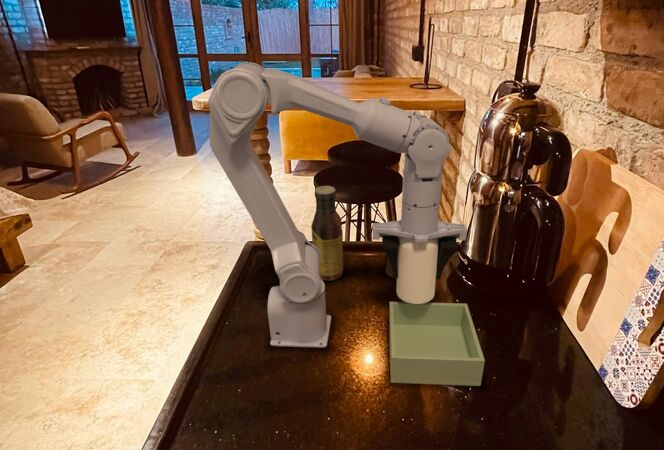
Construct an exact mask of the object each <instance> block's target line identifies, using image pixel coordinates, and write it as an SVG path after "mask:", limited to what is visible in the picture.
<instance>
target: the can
mask: <svg viewBox="0 0 664 450" xmlns="http://www.w3.org/2000/svg"><path fill="white" fill-rule="evenodd" d="M437 258H438V238H432V239H428V242H415V241H414V239H411V238H405V237H401V238H398V261H397V267H398V279H396V287H395V288H396V289H395V290H396V296H397V297H398V299H400V300H401V302H406V303H409V304H414V305H420V304H425V303H430V301H431V300H433V299H434V297H435V293H436V281H437V279H436V270H437Z"/></svg>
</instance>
